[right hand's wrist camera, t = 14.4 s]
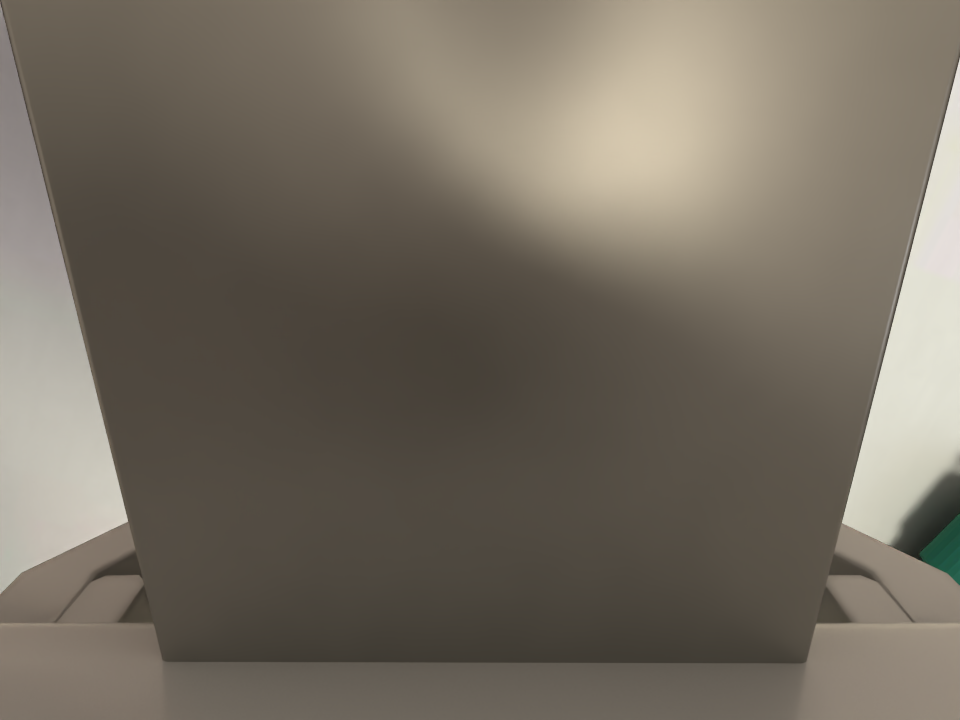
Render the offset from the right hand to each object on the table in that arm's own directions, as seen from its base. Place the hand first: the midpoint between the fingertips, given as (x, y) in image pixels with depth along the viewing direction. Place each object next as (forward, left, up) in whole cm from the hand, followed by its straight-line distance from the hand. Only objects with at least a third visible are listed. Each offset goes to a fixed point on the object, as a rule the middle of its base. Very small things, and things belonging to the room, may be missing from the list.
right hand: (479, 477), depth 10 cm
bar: (-4, +9, -3) cm, 10 cm away
